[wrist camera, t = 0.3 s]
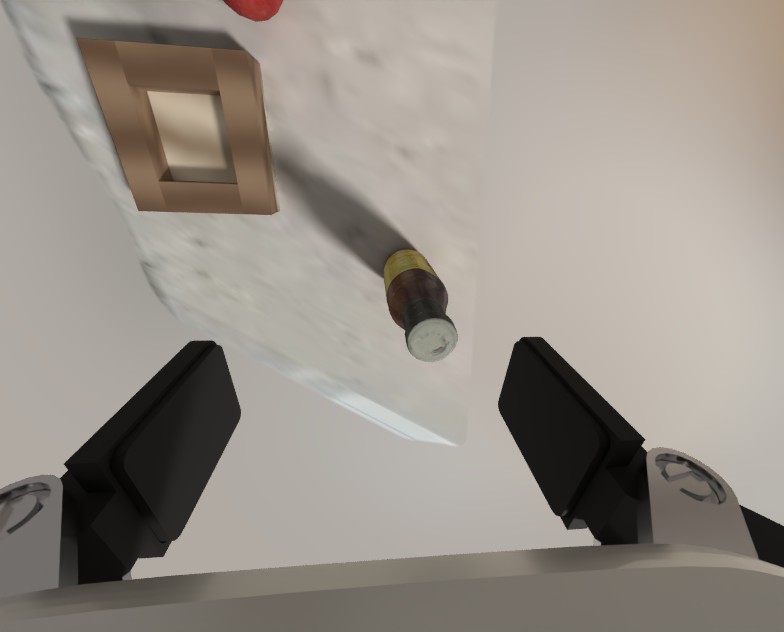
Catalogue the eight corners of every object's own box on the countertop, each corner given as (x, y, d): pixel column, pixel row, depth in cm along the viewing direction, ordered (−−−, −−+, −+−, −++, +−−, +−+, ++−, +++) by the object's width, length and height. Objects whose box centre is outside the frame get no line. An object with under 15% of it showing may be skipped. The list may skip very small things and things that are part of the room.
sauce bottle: (425, 288, 41) (467, 378, 24) (383, 289, 41) (393, 382, 23) (428, 243, 38) (478, 308, 21) (382, 244, 38) (393, 311, 20)
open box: (109, 52, 27) (76, 37, 24) (259, 63, 28) (246, 50, 25) (159, 206, 34) (138, 210, 31) (279, 210, 35) (271, 214, 32)
